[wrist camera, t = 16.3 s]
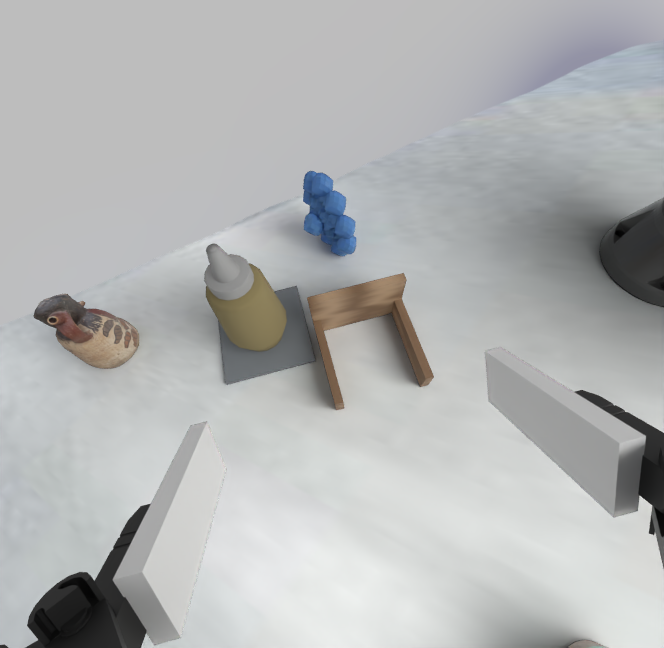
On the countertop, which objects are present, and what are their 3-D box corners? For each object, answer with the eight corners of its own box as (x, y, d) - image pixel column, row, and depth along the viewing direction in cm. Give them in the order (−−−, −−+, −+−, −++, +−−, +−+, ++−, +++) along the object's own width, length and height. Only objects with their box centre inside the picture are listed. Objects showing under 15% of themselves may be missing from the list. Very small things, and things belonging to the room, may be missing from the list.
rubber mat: (297, 287, 49) (296, 286, 48) (315, 361, 44) (315, 359, 43) (217, 307, 48) (216, 306, 48) (227, 384, 43) (225, 383, 42)
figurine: (131, 315, 48) (68, 267, 38) (147, 352, 46) (83, 311, 35) (84, 340, 47) (4, 297, 36) (97, 379, 44) (14, 346, 34)
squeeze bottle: (223, 331, 46) (151, 249, 30) (268, 296, 48) (224, 201, 32) (256, 372, 43) (198, 304, 27) (303, 333, 45) (275, 248, 29)
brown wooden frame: (395, 305, 47) (403, 273, 39) (427, 385, 41) (443, 364, 34) (314, 326, 46) (307, 297, 39) (336, 410, 41) (332, 394, 33)
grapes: (290, 232, 54) (274, 170, 43) (324, 214, 55) (317, 148, 44) (329, 281, 49) (322, 224, 38) (365, 259, 50) (369, 198, 40)
